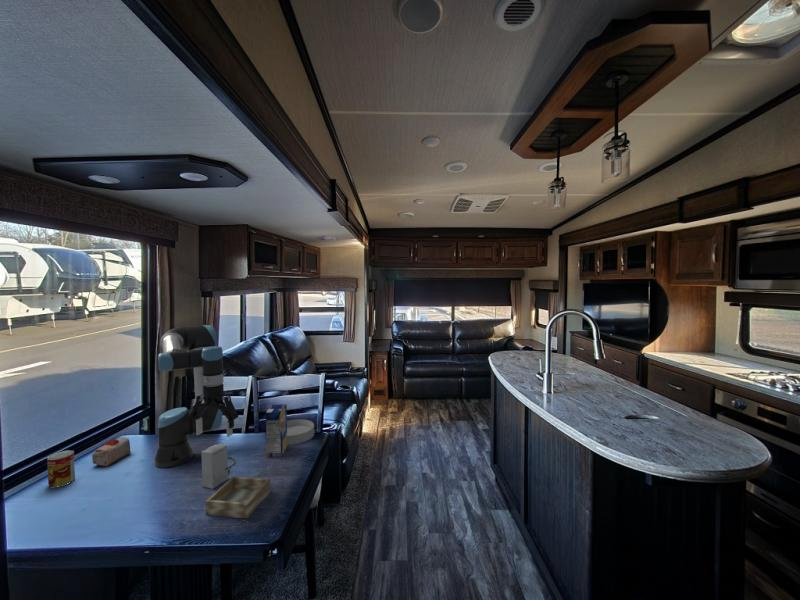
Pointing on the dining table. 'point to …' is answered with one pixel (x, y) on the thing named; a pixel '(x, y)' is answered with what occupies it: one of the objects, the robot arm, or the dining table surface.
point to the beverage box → (276, 430)
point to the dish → (299, 431)
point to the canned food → (61, 468)
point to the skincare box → (214, 466)
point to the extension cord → (231, 465)
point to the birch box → (238, 497)
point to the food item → (111, 451)
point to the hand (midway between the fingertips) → (214, 434)
